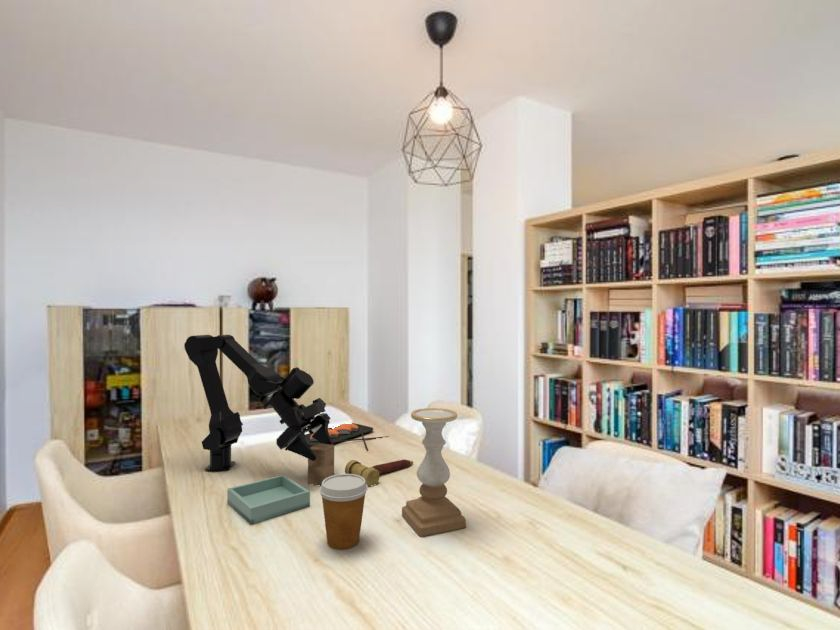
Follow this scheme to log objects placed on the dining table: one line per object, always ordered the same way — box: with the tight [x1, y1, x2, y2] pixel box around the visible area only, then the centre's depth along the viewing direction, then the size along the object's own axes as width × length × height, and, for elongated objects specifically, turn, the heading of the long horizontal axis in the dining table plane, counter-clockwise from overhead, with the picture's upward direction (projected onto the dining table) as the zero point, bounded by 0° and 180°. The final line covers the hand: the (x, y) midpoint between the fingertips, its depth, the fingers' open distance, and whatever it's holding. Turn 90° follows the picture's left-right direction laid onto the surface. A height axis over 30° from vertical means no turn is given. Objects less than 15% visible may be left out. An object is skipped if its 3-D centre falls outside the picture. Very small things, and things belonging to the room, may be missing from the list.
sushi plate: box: [305, 422, 389, 452], centre depth 159 cm, size 29×30×4 cm
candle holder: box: [401, 407, 467, 538], centre depth 100 cm, size 11×11×24 cm
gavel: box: [344, 458, 414, 487], centre depth 129 cm, size 21×5×10 cm
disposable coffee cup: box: [318, 473, 369, 550], centre depth 91 cm, size 10×10×12 cm
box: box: [226, 474, 311, 525], centre depth 107 cm, size 14×14×4 cm
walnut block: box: [307, 443, 335, 487], centre depth 121 cm, size 5×5×10 cm
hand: (324, 454), depth 121 cm, fingers open, 9 cm apart
